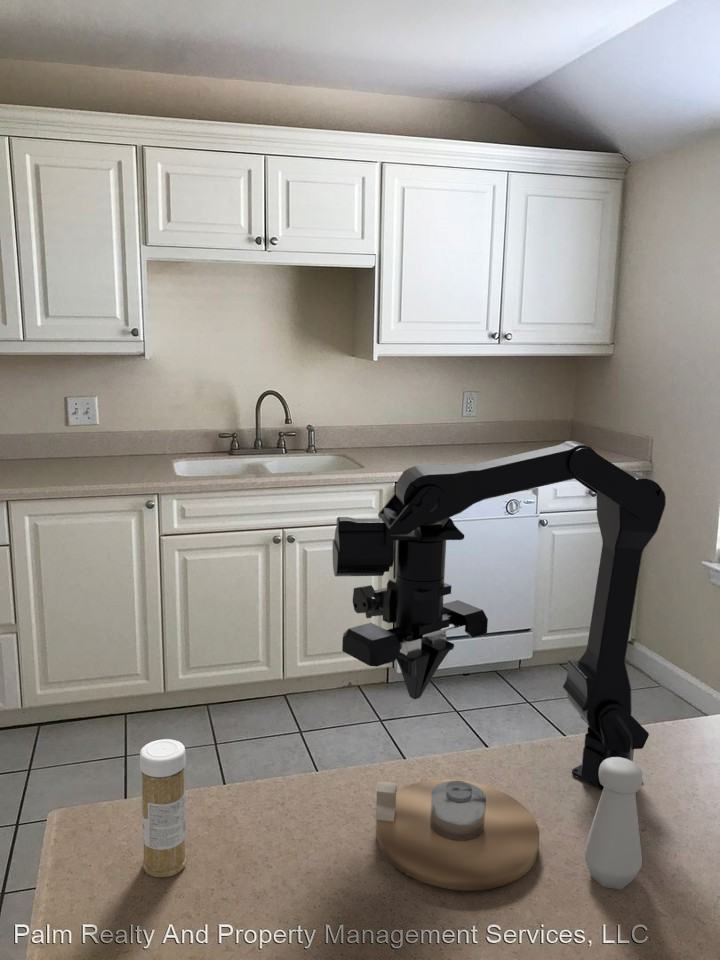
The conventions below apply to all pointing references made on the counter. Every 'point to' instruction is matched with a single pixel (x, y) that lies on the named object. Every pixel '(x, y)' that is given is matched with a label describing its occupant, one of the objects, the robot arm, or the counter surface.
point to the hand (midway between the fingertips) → (414, 697)
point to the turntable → (449, 862)
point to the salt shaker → (615, 826)
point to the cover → (457, 810)
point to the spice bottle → (163, 807)
